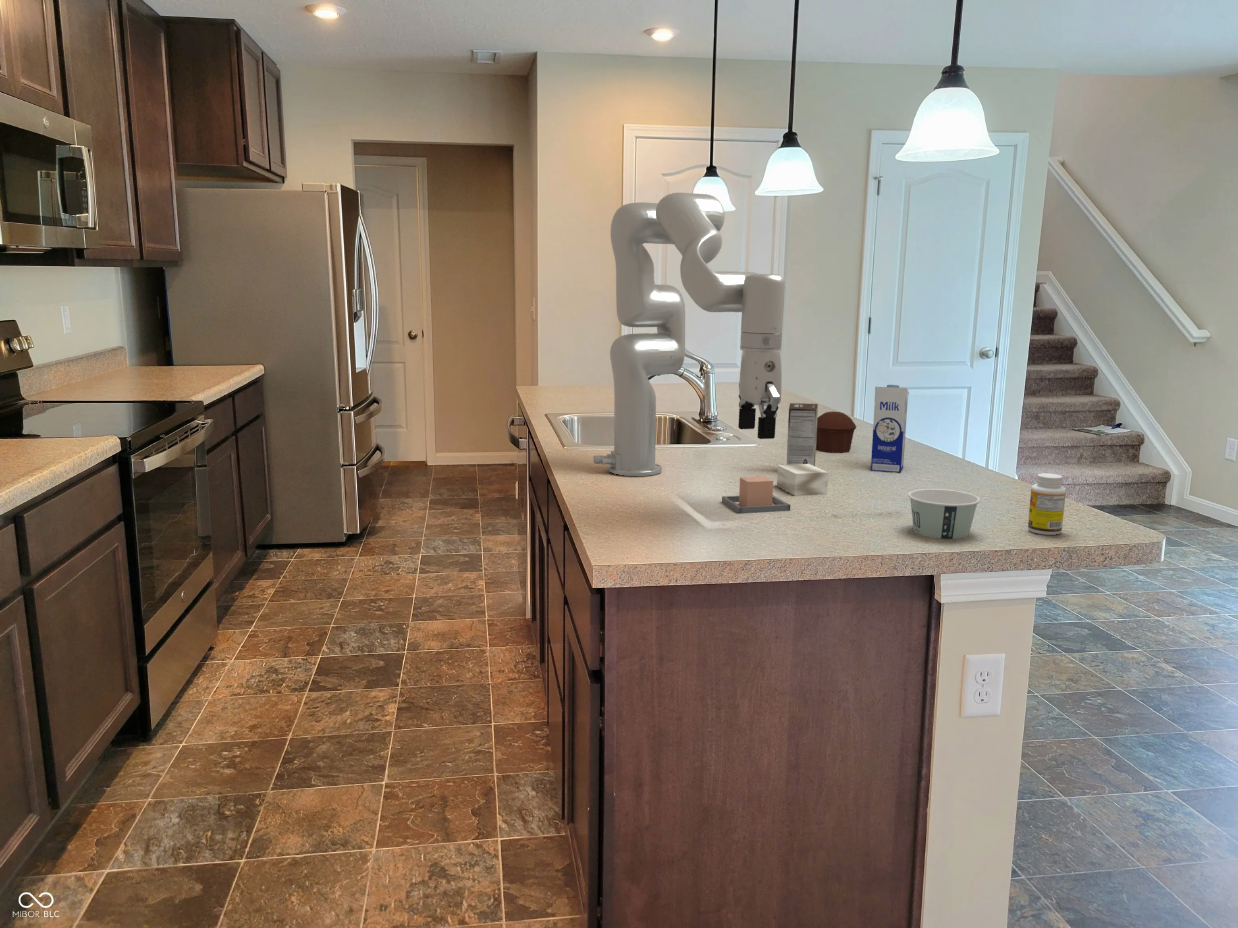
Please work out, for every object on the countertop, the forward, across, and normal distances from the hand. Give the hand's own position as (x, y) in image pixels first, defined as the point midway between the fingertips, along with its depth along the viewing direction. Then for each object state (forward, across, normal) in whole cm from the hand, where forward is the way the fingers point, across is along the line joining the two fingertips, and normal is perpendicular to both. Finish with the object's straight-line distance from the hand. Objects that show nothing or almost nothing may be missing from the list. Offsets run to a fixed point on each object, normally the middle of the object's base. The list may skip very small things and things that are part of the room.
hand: (756, 433), depth 171 cm
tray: (+15, -1, 0) cm, 15 cm away
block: (+15, -1, 0) cm, 15 cm away
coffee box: (+16, +29, -23) cm, 40 cm away
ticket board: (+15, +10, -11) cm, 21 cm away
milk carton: (+16, +31, -46) cm, 58 cm away
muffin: (+17, +57, -45) cm, 75 cm away
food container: (+15, -21, -27) cm, 37 cm away
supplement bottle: (+14, -25, -45) cm, 54 cm away
